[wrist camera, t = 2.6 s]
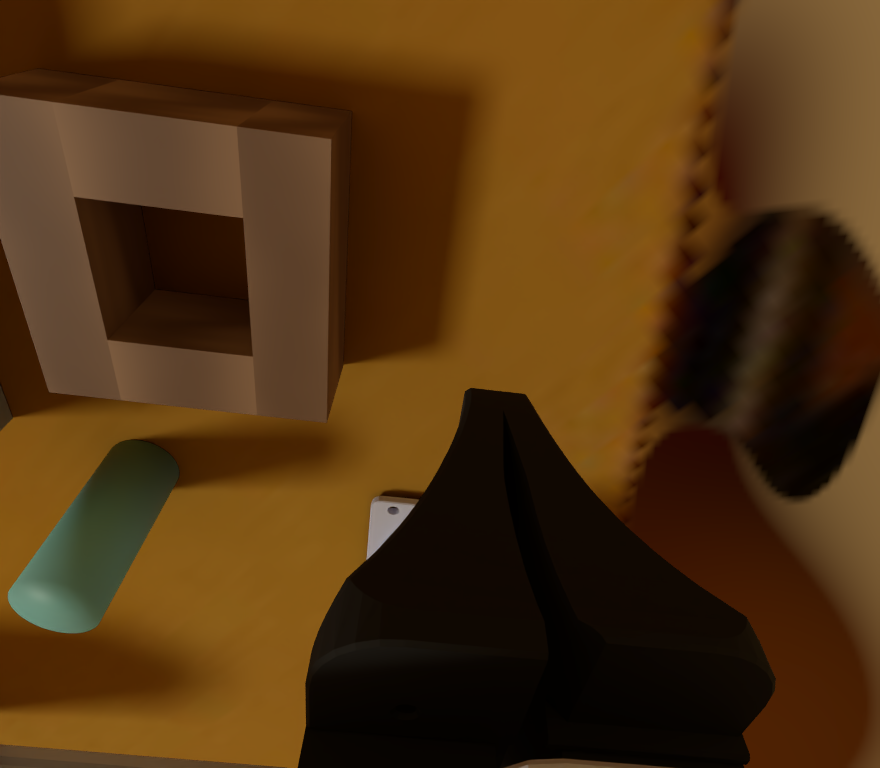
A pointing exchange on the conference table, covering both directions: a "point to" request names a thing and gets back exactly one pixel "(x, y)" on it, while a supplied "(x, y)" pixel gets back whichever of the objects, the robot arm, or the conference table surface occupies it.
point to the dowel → (96, 540)
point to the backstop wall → (4, 411)
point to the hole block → (126, 250)
